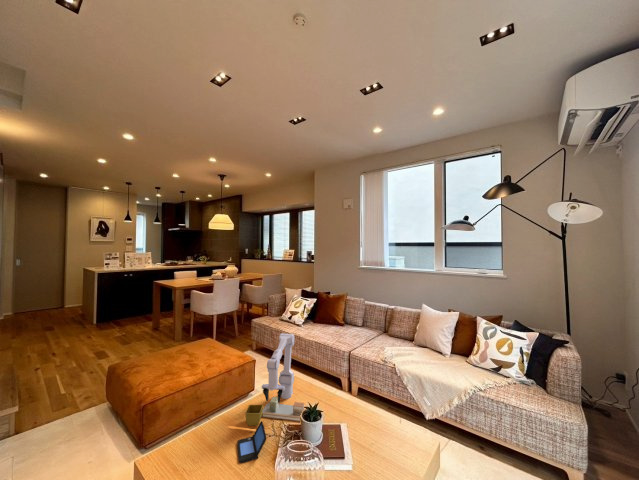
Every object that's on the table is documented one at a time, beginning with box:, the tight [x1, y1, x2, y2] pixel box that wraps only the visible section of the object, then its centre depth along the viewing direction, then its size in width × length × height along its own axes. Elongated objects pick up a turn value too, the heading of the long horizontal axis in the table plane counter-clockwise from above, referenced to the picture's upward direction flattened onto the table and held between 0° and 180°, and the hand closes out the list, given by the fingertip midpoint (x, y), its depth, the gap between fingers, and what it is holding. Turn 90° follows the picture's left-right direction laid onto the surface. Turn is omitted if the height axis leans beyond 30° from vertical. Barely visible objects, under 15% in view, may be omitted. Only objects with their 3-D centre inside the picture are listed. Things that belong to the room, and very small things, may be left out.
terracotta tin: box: [293, 401, 305, 416], centre depth 165 cm, size 4×6×6 cm
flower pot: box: [244, 404, 264, 427], centre depth 158 cm, size 9×9×9 cm
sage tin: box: [269, 396, 280, 412], centre depth 171 cm, size 4×6×6 cm
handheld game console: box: [236, 420, 267, 464], centre depth 138 cm, size 16×13×9 cm
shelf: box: [261, 402, 301, 422], centre depth 168 cm, size 15×30×3 cm, turn 79°
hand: (273, 401), depth 164 cm, fingers open, 7 cm apart
